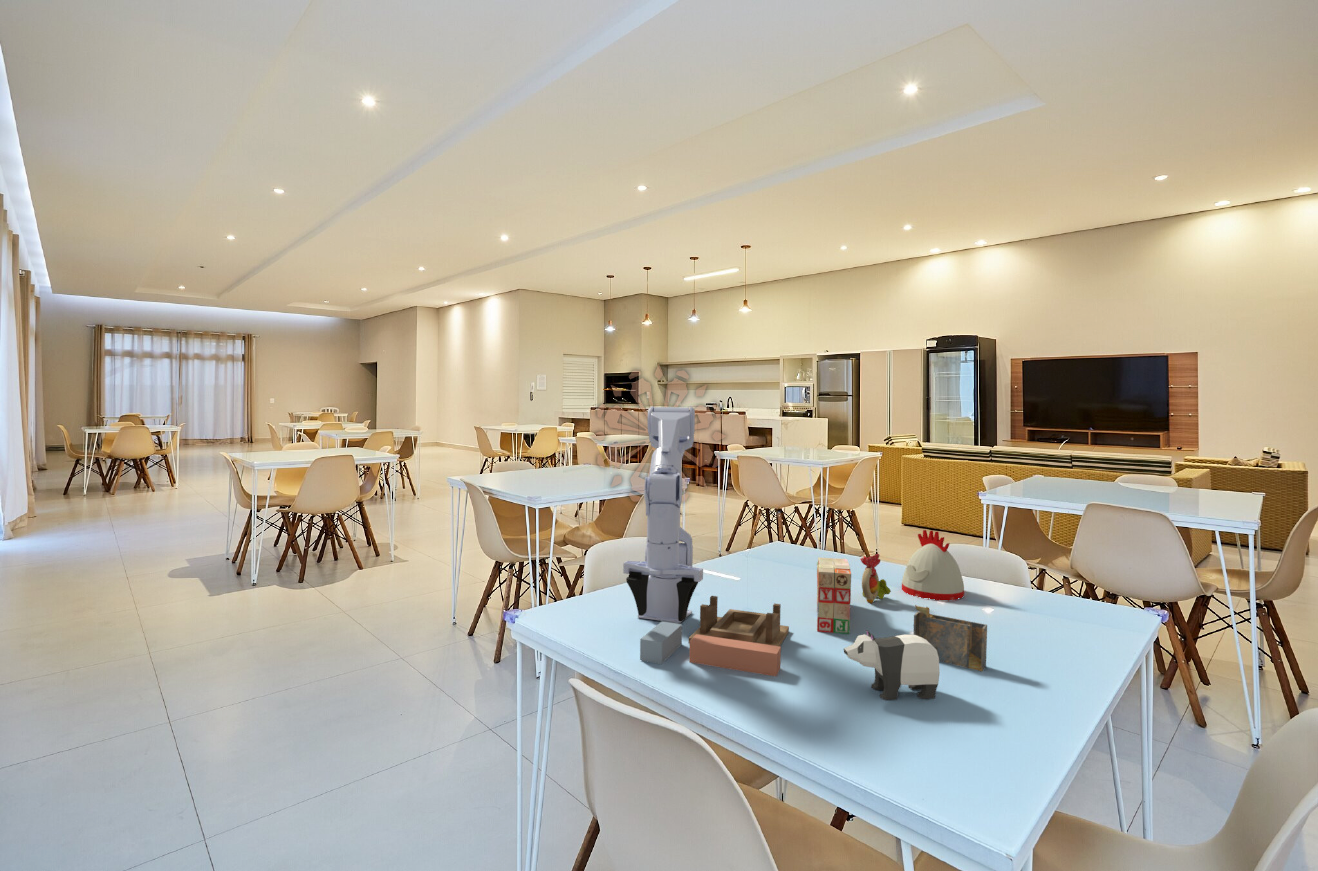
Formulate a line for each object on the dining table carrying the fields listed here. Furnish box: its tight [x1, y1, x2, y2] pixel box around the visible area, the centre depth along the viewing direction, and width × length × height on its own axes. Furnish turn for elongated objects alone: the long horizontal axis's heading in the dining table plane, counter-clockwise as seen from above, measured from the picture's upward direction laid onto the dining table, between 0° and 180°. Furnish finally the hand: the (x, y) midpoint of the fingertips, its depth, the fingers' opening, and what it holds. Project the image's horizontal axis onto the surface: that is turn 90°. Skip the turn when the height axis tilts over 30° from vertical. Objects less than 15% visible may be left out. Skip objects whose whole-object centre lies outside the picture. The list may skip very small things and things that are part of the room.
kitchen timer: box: [901, 529, 965, 601], centre depth 153 cm, size 14×14×15 cm
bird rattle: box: [860, 553, 892, 604], centre depth 146 cm, size 6×11×9 cm
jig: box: [688, 595, 790, 647], centre depth 121 cm, size 16×14×6 cm
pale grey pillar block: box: [639, 621, 683, 665], centre depth 113 cm, size 4×10×4 cm, turn 158°
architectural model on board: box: [912, 604, 988, 672], centre depth 111 cm, size 11×3×10 cm, turn 53°
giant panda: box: [843, 629, 941, 701], centre depth 98 cm, size 15×6×10 cm, turn 93°
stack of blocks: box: [816, 556, 852, 635], centre depth 134 cm, size 21×6×12 cm, turn 166°
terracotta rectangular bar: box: [688, 634, 782, 677], centre depth 108 cm, size 15×4×4 cm, turn 68°
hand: (662, 616), depth 113 cm, fingers open, 7 cm apart
